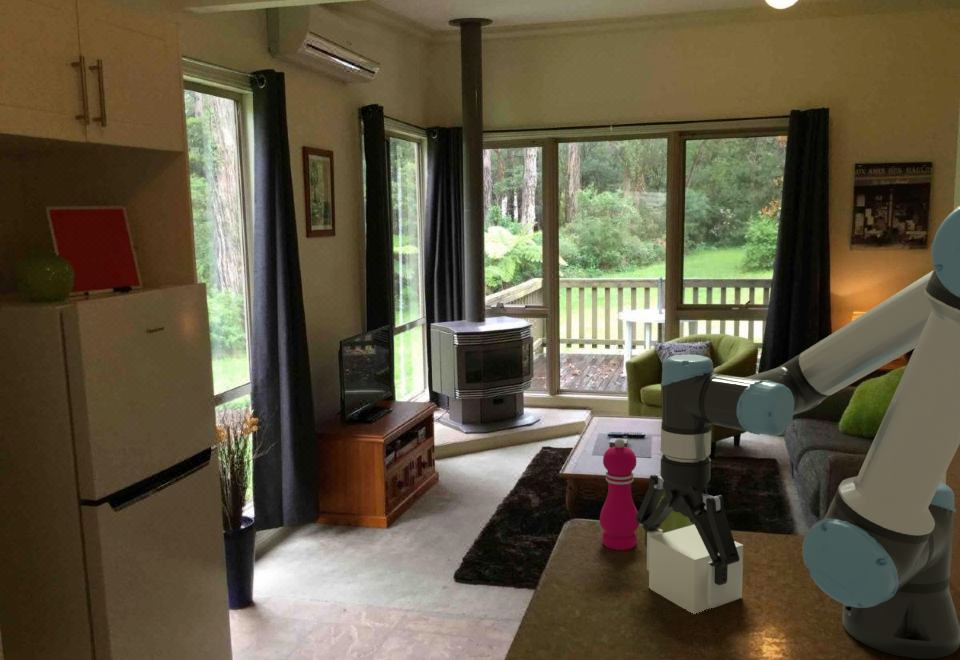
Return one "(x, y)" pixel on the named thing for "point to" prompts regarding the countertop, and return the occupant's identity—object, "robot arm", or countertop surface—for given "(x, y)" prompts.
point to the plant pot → (674, 520)
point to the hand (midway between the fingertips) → (683, 584)
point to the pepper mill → (619, 499)
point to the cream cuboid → (688, 570)
